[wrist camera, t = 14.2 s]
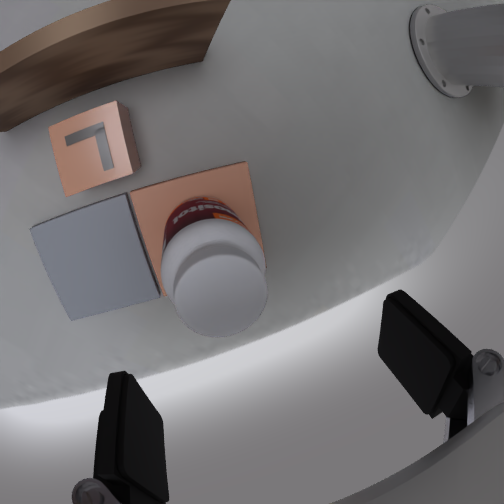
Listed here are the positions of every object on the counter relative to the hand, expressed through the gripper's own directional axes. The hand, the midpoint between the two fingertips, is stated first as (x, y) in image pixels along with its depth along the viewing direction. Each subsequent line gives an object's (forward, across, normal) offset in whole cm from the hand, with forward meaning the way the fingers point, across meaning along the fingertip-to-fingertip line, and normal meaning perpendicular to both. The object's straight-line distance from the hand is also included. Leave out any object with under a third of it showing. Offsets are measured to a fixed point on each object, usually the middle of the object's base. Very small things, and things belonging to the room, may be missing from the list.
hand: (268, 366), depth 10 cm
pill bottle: (+16, +1, 0) cm, 16 cm away
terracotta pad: (+17, +1, +1) cm, 17 cm away
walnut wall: (+17, +7, -14) cm, 23 cm away
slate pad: (+17, +11, +1) cm, 20 cm away
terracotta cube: (+17, +7, -8) cm, 20 cm away
